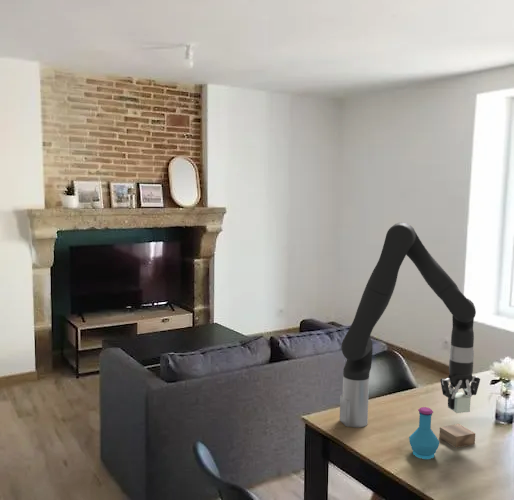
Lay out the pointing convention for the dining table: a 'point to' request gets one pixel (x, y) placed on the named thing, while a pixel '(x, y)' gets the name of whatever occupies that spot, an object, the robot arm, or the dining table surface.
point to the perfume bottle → (424, 436)
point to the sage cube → (461, 403)
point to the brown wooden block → (457, 435)
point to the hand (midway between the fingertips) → (458, 407)
